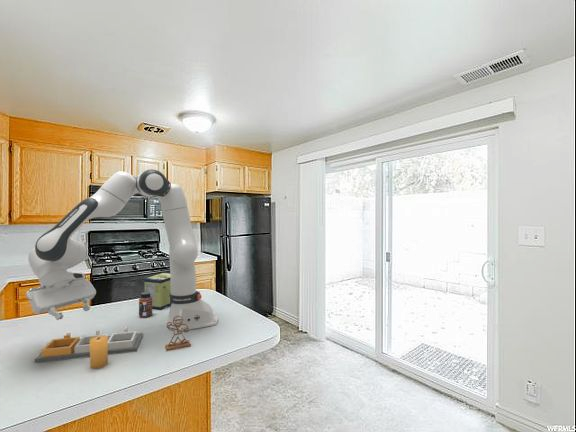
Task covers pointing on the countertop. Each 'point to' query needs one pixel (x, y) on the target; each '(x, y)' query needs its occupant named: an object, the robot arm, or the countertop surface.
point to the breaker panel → (88, 346)
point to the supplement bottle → (145, 305)
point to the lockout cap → (98, 352)
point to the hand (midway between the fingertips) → (74, 314)
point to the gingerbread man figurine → (179, 344)
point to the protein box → (159, 290)
